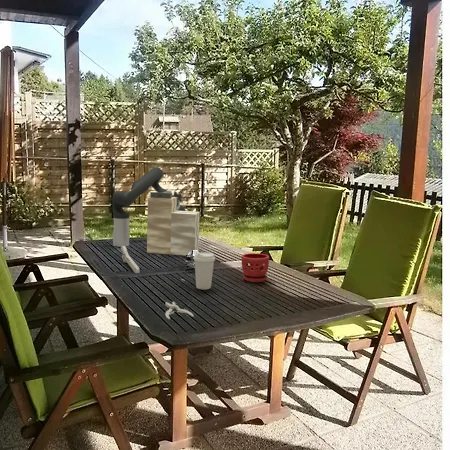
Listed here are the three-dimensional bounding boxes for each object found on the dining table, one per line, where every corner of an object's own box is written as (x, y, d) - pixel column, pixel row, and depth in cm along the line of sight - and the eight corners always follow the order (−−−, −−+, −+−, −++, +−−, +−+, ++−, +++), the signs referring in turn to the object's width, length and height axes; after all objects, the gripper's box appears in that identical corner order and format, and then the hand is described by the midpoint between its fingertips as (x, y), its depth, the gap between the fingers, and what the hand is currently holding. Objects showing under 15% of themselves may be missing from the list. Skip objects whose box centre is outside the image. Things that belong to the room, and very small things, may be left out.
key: (160, 194, 287) (160, 189, 286) (179, 195, 285) (179, 190, 285) (150, 197, 267) (150, 192, 267) (170, 198, 265) (170, 193, 265)
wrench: (135, 279, 226) (120, 258, 252) (139, 279, 227) (123, 258, 252) (136, 264, 224) (120, 244, 249) (140, 263, 225) (124, 244, 250)
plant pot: (270, 277, 228) (271, 253, 226) (265, 284, 215) (266, 259, 213) (244, 274, 231) (245, 251, 229) (237, 281, 219) (238, 256, 217)
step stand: (153, 248, 283) (153, 195, 278) (198, 251, 279) (200, 198, 274) (146, 252, 271) (147, 197, 266) (194, 256, 267) (195, 200, 262)
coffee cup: (190, 284, 210) (191, 252, 208) (210, 283, 214) (211, 251, 211) (196, 291, 202) (197, 257, 199) (217, 289, 205) (218, 256, 203)
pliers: (168, 316, 167) (157, 303, 181) (168, 320, 167) (157, 306, 181) (194, 313, 171) (181, 300, 184) (194, 317, 171) (181, 304, 185)
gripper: (163, 197, 298) (157, 186, 283) (185, 198, 296) (180, 187, 281) (161, 207, 296) (155, 197, 281) (183, 209, 294) (178, 198, 279)
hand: (167, 192), depth 281 cm, fingers open, 8 cm apart
